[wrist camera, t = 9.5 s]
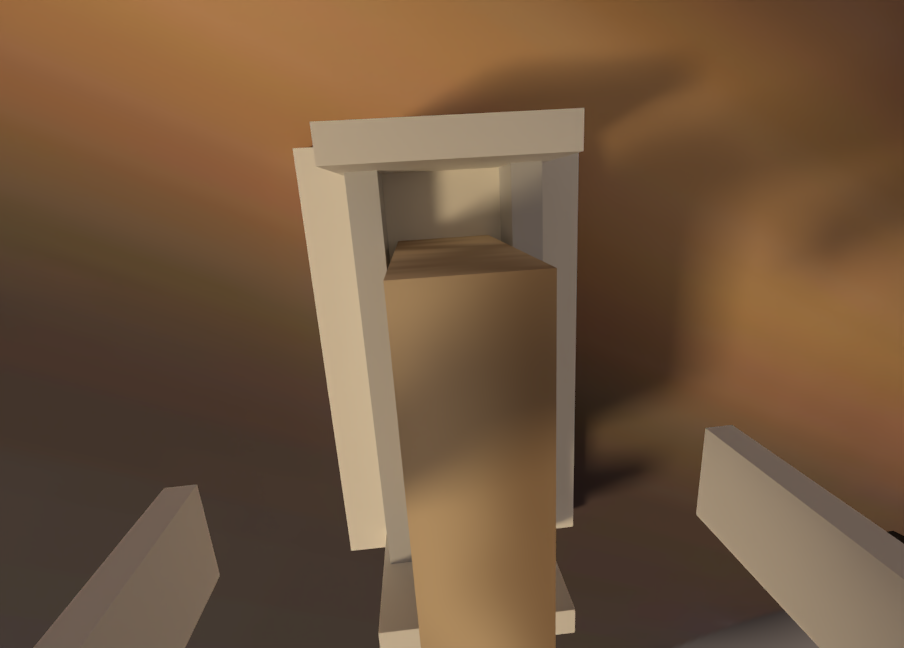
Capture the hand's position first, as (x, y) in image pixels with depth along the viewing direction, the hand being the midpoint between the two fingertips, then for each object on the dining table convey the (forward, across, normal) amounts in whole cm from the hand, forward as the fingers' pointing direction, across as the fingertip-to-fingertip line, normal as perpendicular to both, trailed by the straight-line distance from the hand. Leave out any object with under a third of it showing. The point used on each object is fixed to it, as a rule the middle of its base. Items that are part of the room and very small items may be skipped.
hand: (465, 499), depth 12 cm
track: (+11, +1, 0) cm, 11 cm away
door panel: (+10, +1, 0) cm, 10 cm away
